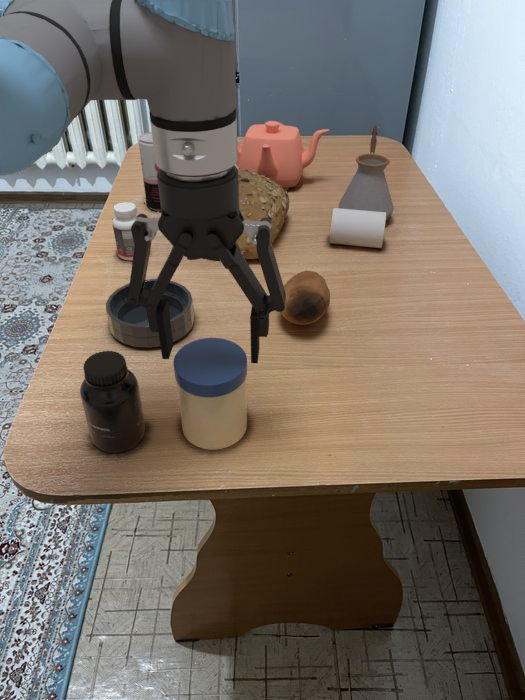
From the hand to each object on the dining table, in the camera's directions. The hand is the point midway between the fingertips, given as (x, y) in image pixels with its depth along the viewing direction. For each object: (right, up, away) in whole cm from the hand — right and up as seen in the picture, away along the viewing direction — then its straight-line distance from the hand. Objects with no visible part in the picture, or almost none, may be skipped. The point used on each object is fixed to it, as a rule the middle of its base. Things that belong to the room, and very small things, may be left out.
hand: (211, 353), depth 66 cm
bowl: (-12, +4, +25) cm, 28 cm away
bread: (0, +24, +49) cm, 55 cm away
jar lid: (0, -1, +1) cm, 2 cm away
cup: (+24, +21, +46) cm, 56 cm away
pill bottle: (-19, +19, +42) cm, 50 cm away
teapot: (+9, +41, +70) cm, 81 cm away
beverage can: (-16, +32, +59) cm, 69 cm away
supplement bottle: (-12, -11, +6) cm, 17 cm away
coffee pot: (+29, +31, +58) cm, 72 cm away
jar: (0, -9, +8) cm, 12 cm away
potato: (+13, +6, +27) cm, 30 cm away
